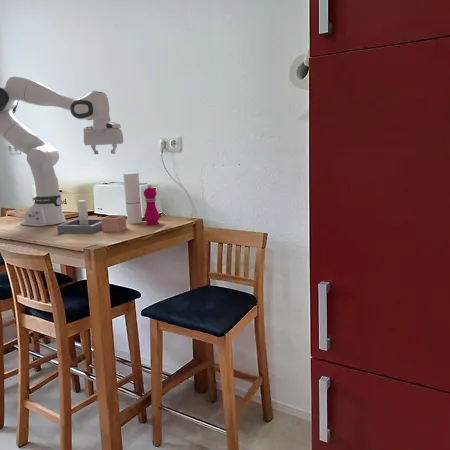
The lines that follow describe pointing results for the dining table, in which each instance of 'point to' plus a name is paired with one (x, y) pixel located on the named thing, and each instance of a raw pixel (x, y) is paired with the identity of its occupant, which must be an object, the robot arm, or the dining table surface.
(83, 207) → the dowel
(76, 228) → the tray
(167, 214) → the dining table surface
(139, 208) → the cylindrical container
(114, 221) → the pink block with hole
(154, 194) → the pepper mill
